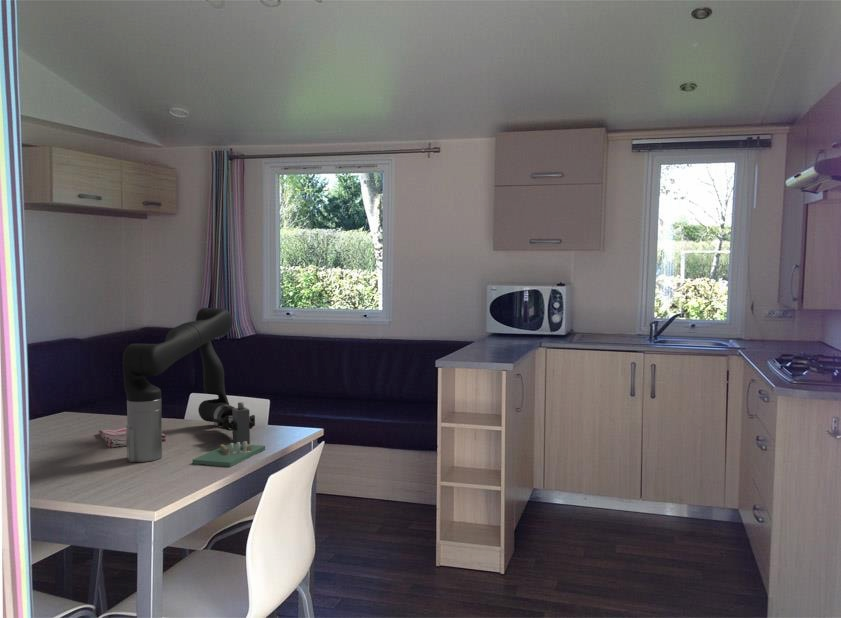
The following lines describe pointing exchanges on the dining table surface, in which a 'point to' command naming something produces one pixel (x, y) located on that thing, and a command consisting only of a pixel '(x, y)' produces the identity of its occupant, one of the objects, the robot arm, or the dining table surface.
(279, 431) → the dining table surface
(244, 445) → the board
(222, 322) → the robot arm
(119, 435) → the dish towel
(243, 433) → the block
